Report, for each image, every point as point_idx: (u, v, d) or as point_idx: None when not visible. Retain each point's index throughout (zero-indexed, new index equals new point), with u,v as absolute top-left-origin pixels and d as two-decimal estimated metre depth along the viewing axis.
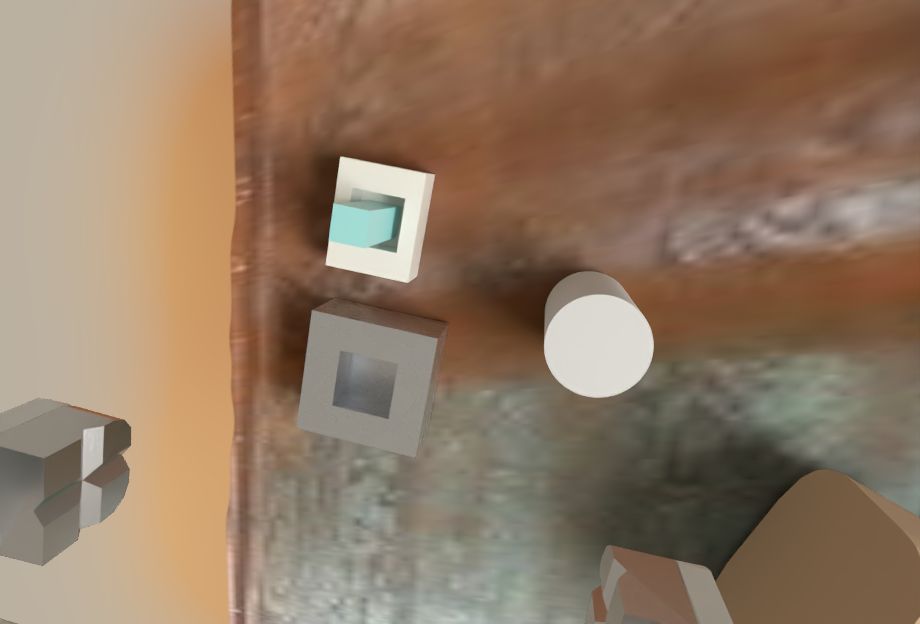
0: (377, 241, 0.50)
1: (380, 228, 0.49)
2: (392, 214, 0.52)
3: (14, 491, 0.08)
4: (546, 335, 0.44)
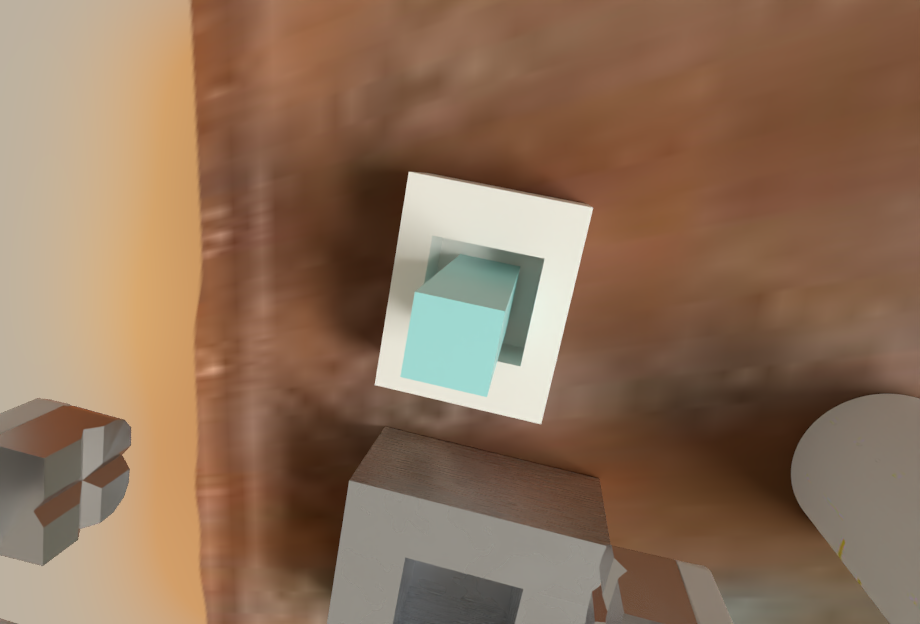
0: None
1: (503, 331, 0.23)
2: (514, 289, 0.26)
3: (14, 491, 0.08)
4: None
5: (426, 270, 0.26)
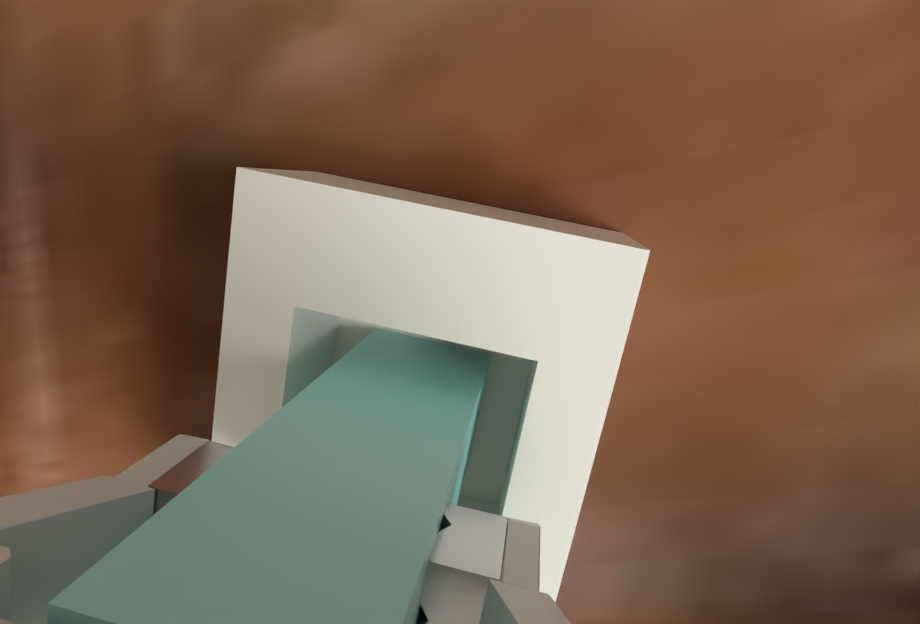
0: None
1: None
2: (473, 421, 0.12)
3: None
4: None
5: (286, 377, 0.12)
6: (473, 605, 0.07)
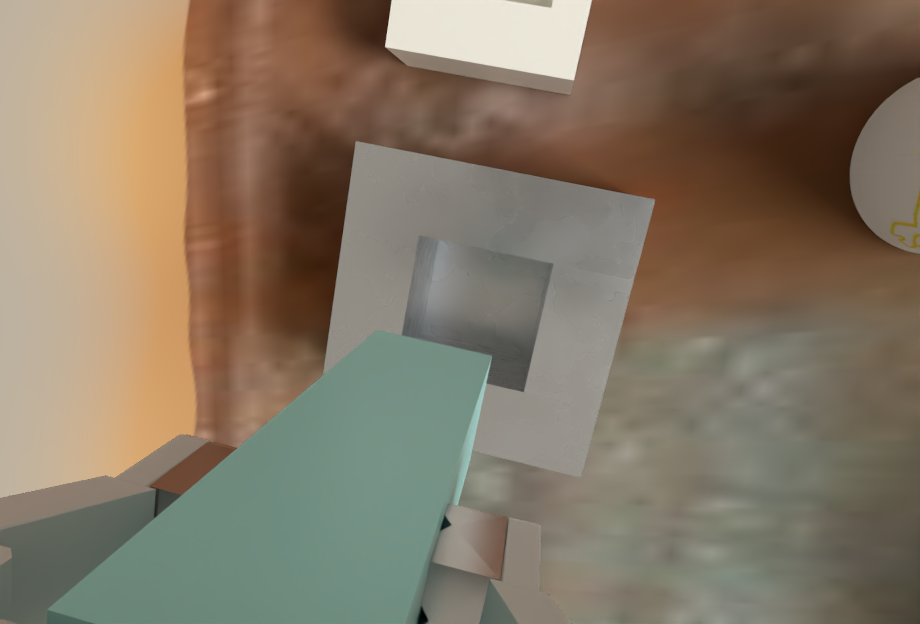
0: None
1: None
2: (473, 423, 0.12)
3: None
4: None
5: None
6: (473, 605, 0.07)
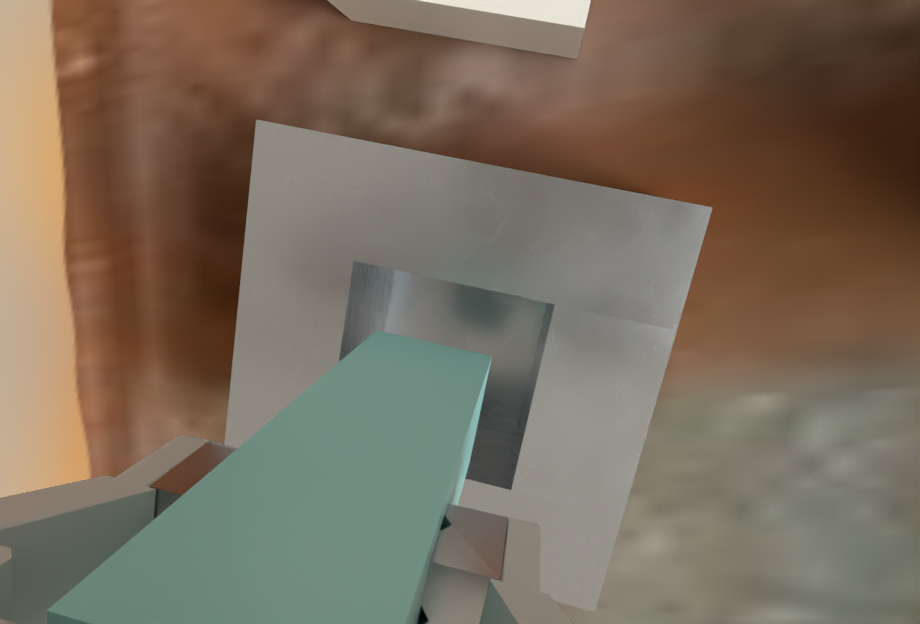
0: None
1: None
2: (473, 424, 0.12)
3: None
4: None
5: None
6: (474, 606, 0.07)
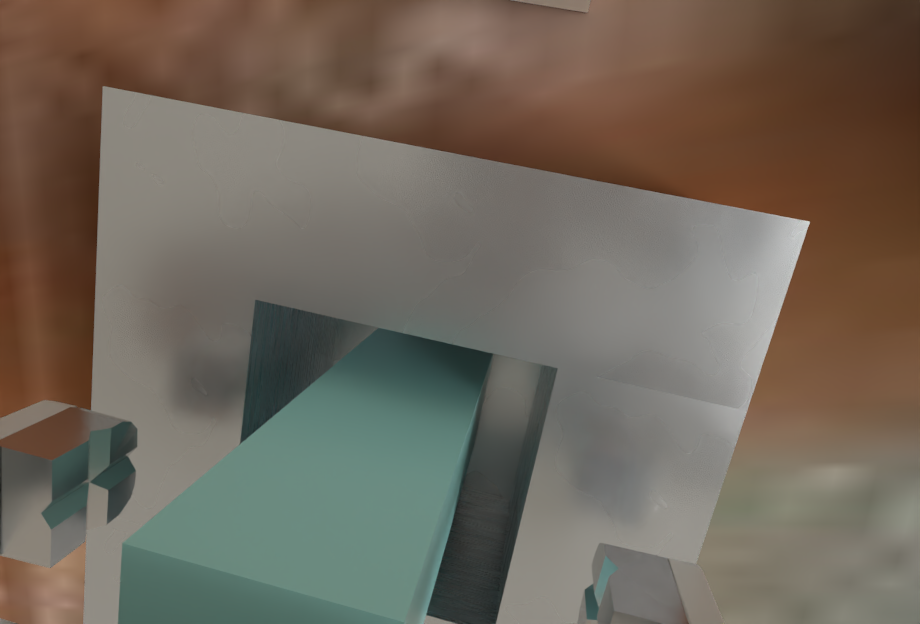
0: (430, 595, 0.10)
1: (442, 538, 0.10)
2: (478, 406, 0.13)
3: (22, 493, 0.08)
4: None
5: None
6: None
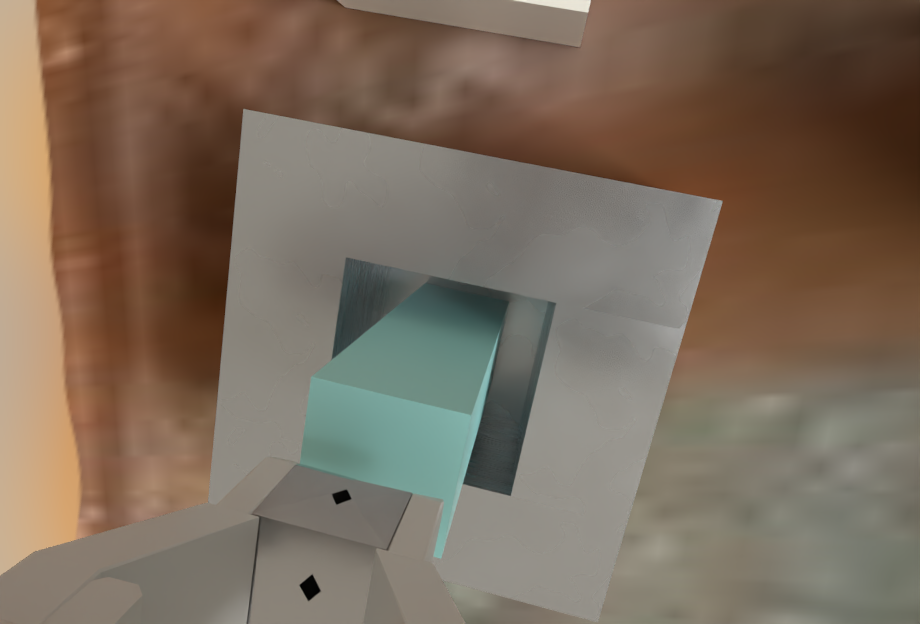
0: (469, 457, 0.14)
1: (478, 416, 0.14)
2: (498, 340, 0.17)
3: (280, 564, 0.08)
4: None
5: None
6: (363, 575, 0.08)
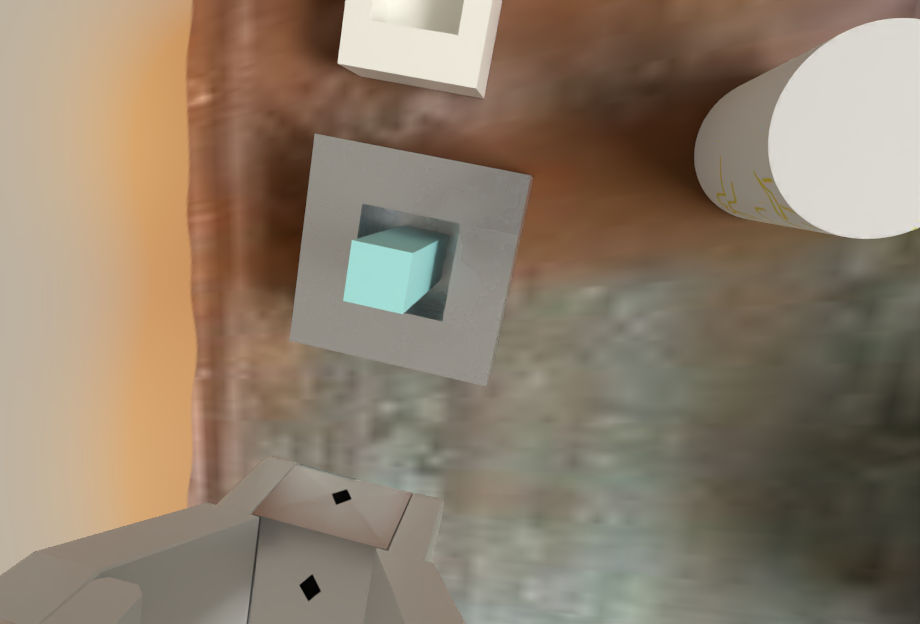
0: (420, 295, 0.31)
1: (423, 275, 0.31)
2: (438, 249, 0.34)
3: (280, 564, 0.08)
4: (775, 114, 0.23)
5: None
6: (363, 575, 0.08)
